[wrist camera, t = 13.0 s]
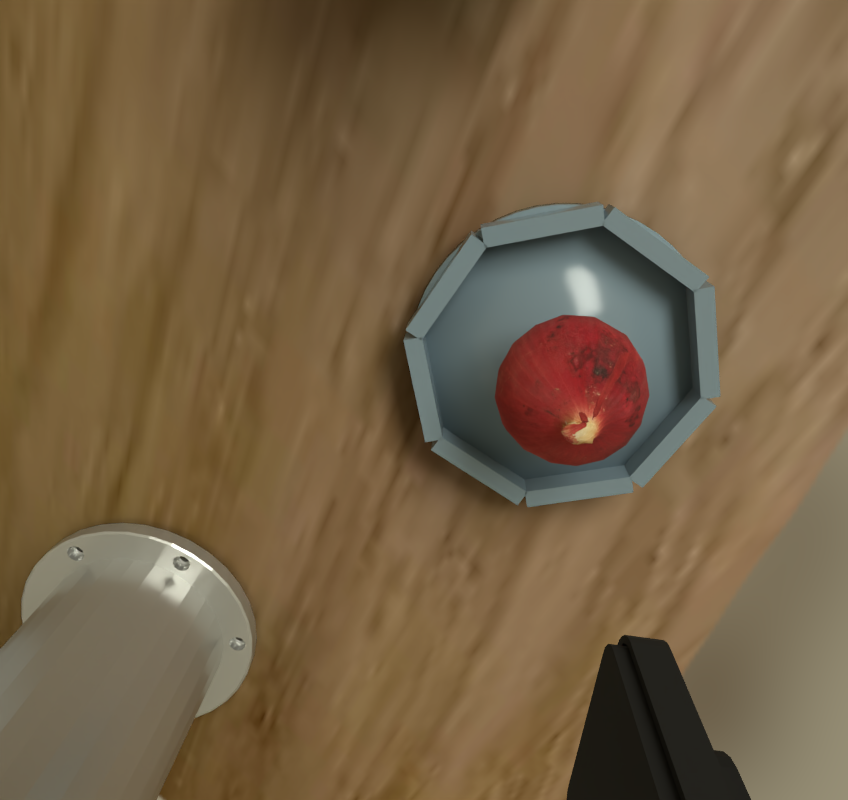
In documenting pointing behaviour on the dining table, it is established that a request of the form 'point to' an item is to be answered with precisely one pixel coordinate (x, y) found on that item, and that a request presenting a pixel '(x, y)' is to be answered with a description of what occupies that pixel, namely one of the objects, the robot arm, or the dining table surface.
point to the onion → (572, 390)
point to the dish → (546, 299)
